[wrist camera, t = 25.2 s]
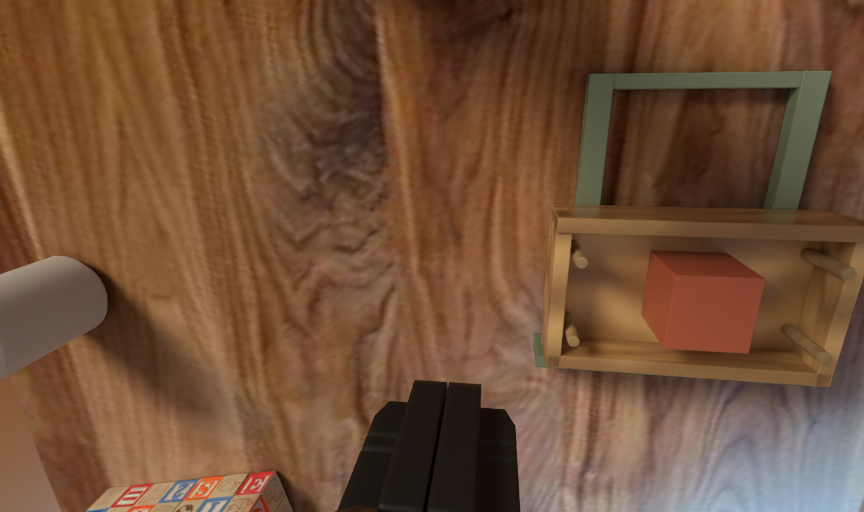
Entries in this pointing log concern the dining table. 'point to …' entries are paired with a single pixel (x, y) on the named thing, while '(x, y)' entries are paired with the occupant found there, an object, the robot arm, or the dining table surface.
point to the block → (701, 301)
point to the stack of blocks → (200, 495)
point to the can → (46, 309)
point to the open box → (701, 232)
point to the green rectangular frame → (799, 109)
